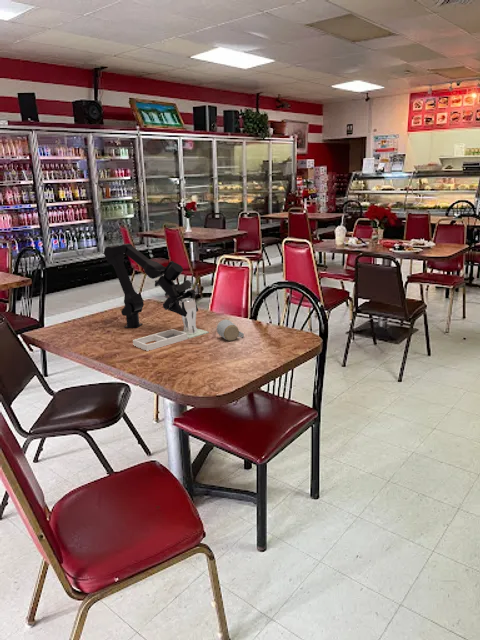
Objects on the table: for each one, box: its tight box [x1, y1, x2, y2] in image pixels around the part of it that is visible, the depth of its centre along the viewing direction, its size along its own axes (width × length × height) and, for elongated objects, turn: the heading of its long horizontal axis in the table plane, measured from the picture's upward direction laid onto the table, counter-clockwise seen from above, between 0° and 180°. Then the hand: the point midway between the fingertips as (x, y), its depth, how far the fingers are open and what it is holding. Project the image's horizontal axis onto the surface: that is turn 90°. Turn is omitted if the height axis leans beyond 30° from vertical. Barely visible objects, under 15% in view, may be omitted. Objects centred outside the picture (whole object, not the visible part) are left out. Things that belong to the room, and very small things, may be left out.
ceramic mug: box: [216, 319, 245, 342], centre depth 204 cm, size 11×8×8 cm
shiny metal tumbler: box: [179, 298, 198, 335], centre depth 212 cm, size 7×7×15 cm
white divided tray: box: [132, 327, 210, 352], centre depth 207 cm, size 32×11×2 cm, turn 133°
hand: (191, 313), depth 211 cm, fingers open, 9 cm apart
